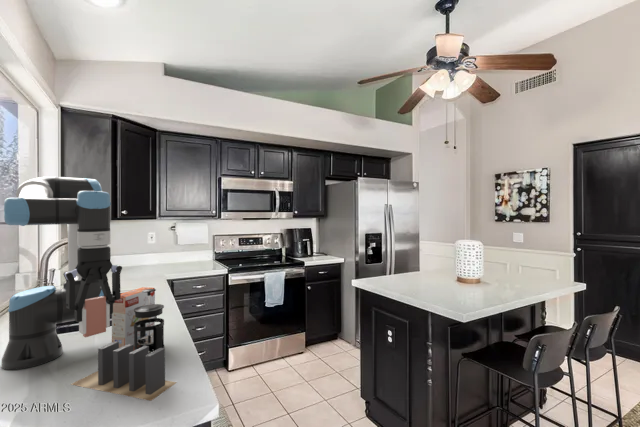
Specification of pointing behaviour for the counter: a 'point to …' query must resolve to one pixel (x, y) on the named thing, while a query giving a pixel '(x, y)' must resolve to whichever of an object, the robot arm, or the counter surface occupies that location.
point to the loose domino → (95, 315)
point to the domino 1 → (106, 362)
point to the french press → (158, 330)
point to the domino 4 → (155, 370)
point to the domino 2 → (121, 365)
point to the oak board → (92, 383)
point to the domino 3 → (137, 368)
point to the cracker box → (129, 315)
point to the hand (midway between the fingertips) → (94, 329)
